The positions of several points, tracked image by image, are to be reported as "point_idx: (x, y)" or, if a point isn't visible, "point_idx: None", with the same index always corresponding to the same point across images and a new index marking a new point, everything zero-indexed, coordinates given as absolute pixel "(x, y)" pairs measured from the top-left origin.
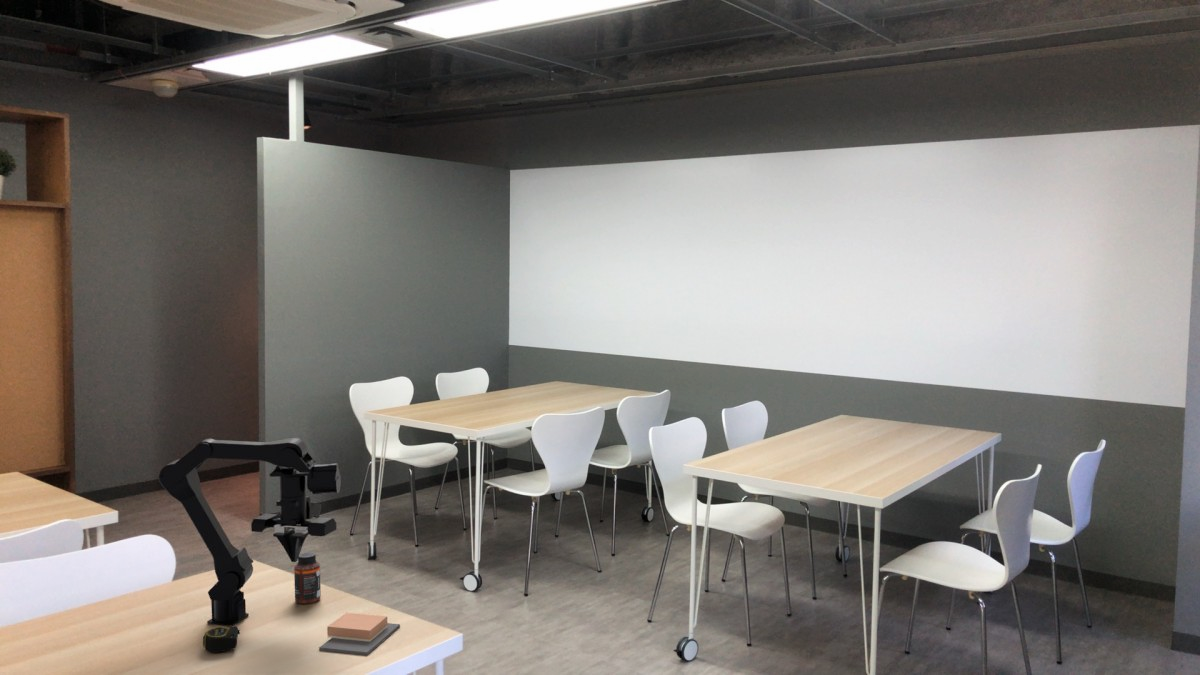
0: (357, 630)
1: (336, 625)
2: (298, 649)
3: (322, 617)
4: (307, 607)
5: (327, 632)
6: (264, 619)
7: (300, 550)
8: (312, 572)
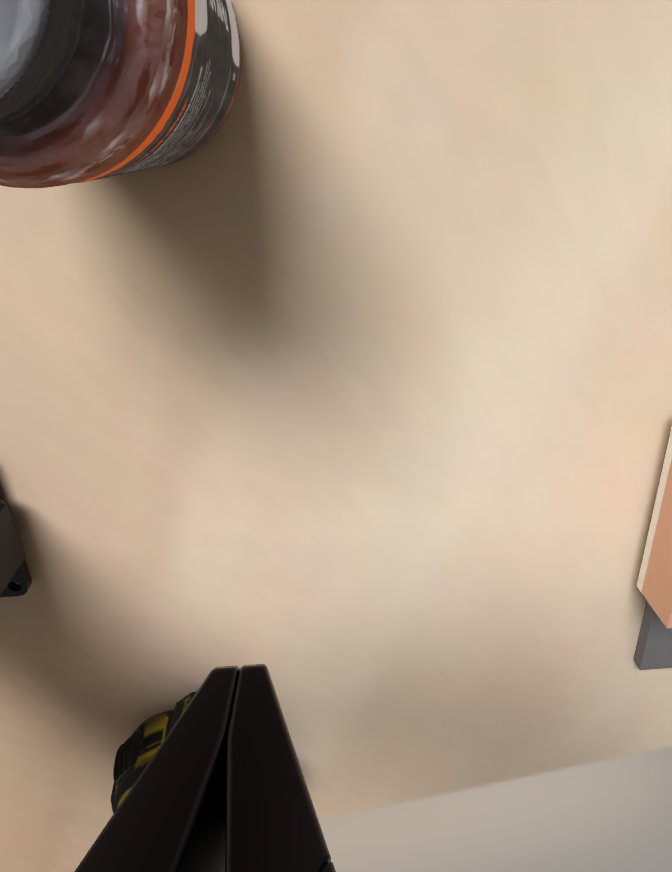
0: None
1: None
2: (535, 673)
3: (454, 335)
4: (239, 199)
5: (650, 604)
6: (119, 460)
7: (310, 802)
8: (179, 100)
